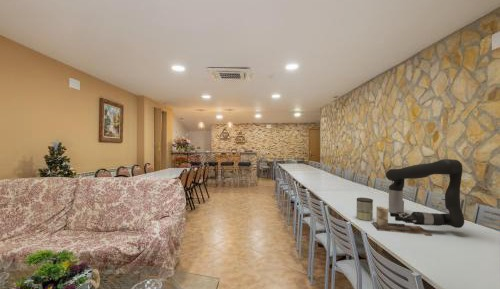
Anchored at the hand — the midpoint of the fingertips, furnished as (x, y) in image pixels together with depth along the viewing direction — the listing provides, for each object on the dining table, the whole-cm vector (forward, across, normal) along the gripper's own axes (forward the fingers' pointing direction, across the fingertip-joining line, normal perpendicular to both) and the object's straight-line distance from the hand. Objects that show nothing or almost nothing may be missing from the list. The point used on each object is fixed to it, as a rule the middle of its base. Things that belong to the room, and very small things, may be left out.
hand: (392, 216), depth 151 cm
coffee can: (+12, -16, +8) cm, 22 cm away
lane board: (-4, 0, +7) cm, 8 cm away
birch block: (+6, 0, +7) cm, 9 cm away
